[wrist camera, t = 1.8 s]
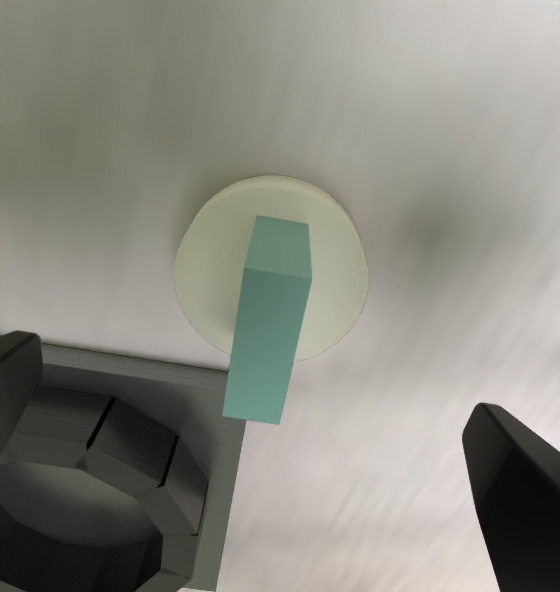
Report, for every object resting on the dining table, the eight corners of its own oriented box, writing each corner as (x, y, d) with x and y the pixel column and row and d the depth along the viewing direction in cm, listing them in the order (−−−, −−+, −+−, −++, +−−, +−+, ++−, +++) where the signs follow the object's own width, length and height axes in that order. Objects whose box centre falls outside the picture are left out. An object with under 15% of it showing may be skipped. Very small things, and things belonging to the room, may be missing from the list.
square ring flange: (253, 376, 16) (244, 442, 14) (218, 570, 22) (207, 645, 19) (-87, 323, 16) (-170, 382, 13) (-34, 536, 21) (-84, 609, 19)
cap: (382, 192, 13) (425, 260, 9) (338, 348, 16) (355, 459, 12) (193, 158, 13) (140, 211, 9) (180, 322, 16) (134, 427, 11)
